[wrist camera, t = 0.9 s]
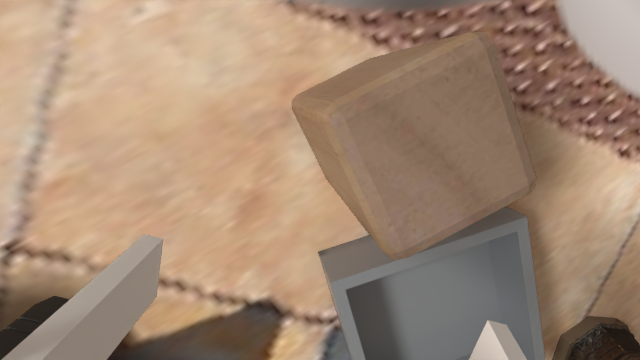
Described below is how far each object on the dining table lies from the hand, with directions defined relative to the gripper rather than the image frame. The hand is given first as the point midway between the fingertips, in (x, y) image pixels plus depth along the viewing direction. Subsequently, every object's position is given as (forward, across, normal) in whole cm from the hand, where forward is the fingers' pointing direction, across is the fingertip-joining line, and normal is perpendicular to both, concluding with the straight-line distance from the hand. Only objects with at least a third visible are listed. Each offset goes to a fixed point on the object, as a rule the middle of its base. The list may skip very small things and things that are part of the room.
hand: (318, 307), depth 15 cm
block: (+27, -1, -3) cm, 27 cm away
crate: (+27, -14, +16) cm, 34 cm away
